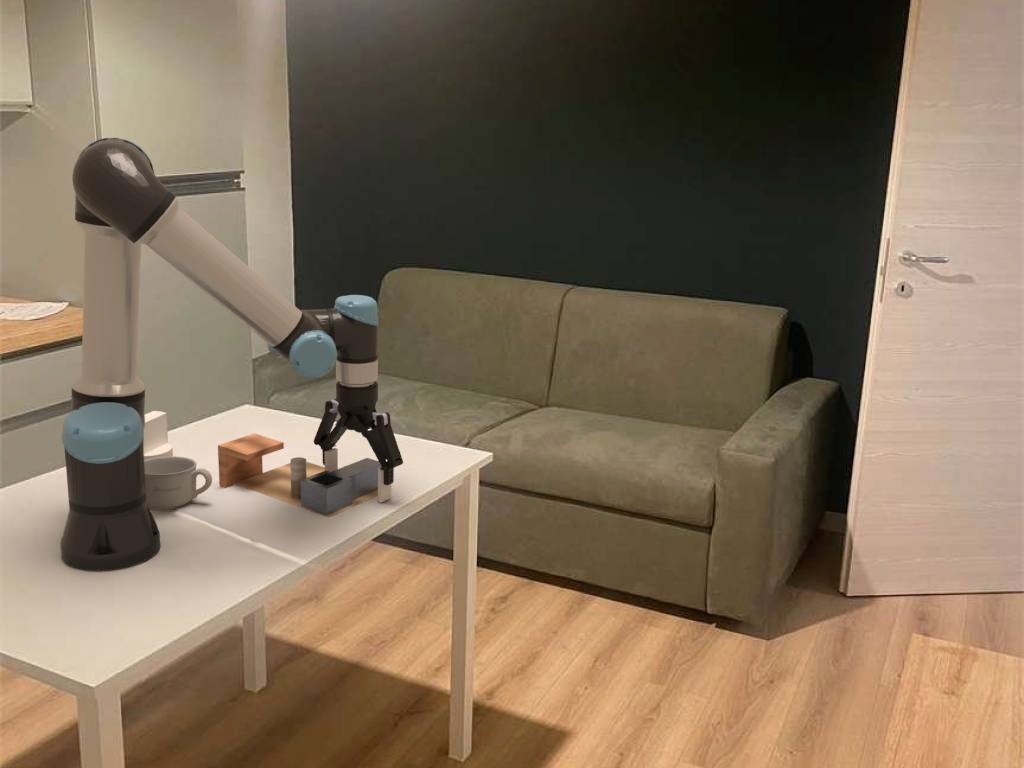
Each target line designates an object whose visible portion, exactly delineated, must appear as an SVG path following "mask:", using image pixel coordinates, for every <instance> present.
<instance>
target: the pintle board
mask: <svg viewBox="0 0 1024 768" xmlns="http://www.w3.org/2000/svg"><path fill="white" fill-rule="evenodd" d="M284 444H285V443H284V441H281V440H280V441H279V440H278V439H273V438H271V437H268V436H263V435H260V434H258V433H252V434H249V435H245V436H242V437H239V438H236V439H233V440H230V441H227V442H223V443H220V444H218V445H217V455H218V456H217V457H218V479H219V480H218V481H219V487H221V488H224V489H228V488H231V487H232V486H239V487H242V488H245V489H248V490H251V491H254V492H256V493H259V494H262V495H265V496H268V497H271V498H273V499H277V500H280V501H282V502H285V503H288V504H290V505H294V506H296V507H299V508H302V509H305V510H308V511H311V512H314V513H316V514H319V515H321V516H324V517H327V518H330V517H331V518H332V517H333V516H336V515H337V514H340V513H342V512H344V511H347V510H349V509H351V508H354V507H356V506H358V505H360V504H362V503H365V502H367V501H369V500H371V499H374V498H378V490H376V491H373V492H371V493H369V494H366V495H364V496H362V497H359V498H357V499H355V500H352V505H350V506H347V507H345V508H343V509H340V510H338V511H336V512H334V513H331V514H329V515H325V514H322V513H319V512H316V511H313V510H311V509H308V508H305V507H302V506H301V480H302V479H305V478H308V477H310V476H313V475H315V474H318V473H321V472H323V471H325V466H322V465H318V464H315V463H312V462H309V461H307V459H306V458H305V457H302V456H301V457H300V456H299V457H293V458H291V459H290V463H286V464H284V465H281V466H278V467H276V468H273V469H270V470H267V471H265V472H264V471H263V469H264V467H263V466H264V465H263V456H265V455H269V454H272V453H275V452H277V451H281V450H283V449H284V448H285V447H284ZM391 491H393V488H391Z"/></svg>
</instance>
